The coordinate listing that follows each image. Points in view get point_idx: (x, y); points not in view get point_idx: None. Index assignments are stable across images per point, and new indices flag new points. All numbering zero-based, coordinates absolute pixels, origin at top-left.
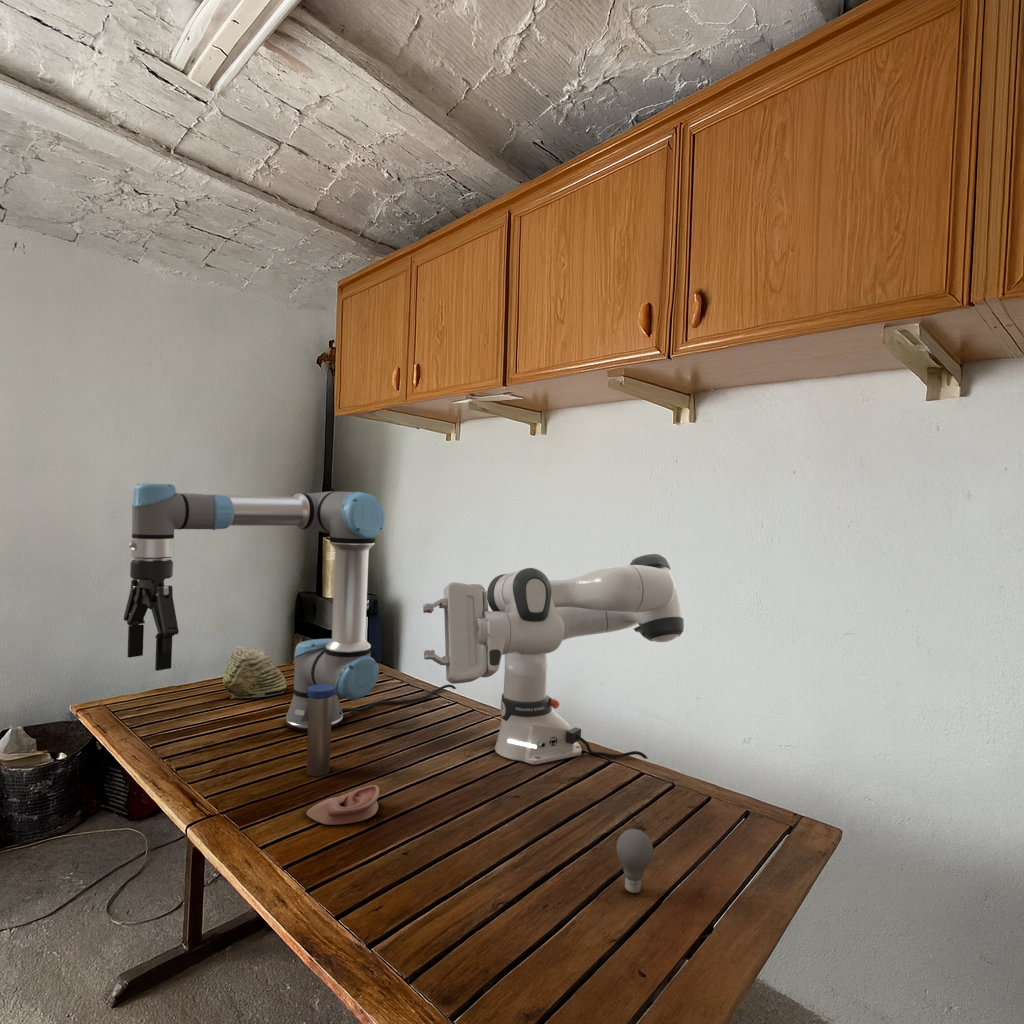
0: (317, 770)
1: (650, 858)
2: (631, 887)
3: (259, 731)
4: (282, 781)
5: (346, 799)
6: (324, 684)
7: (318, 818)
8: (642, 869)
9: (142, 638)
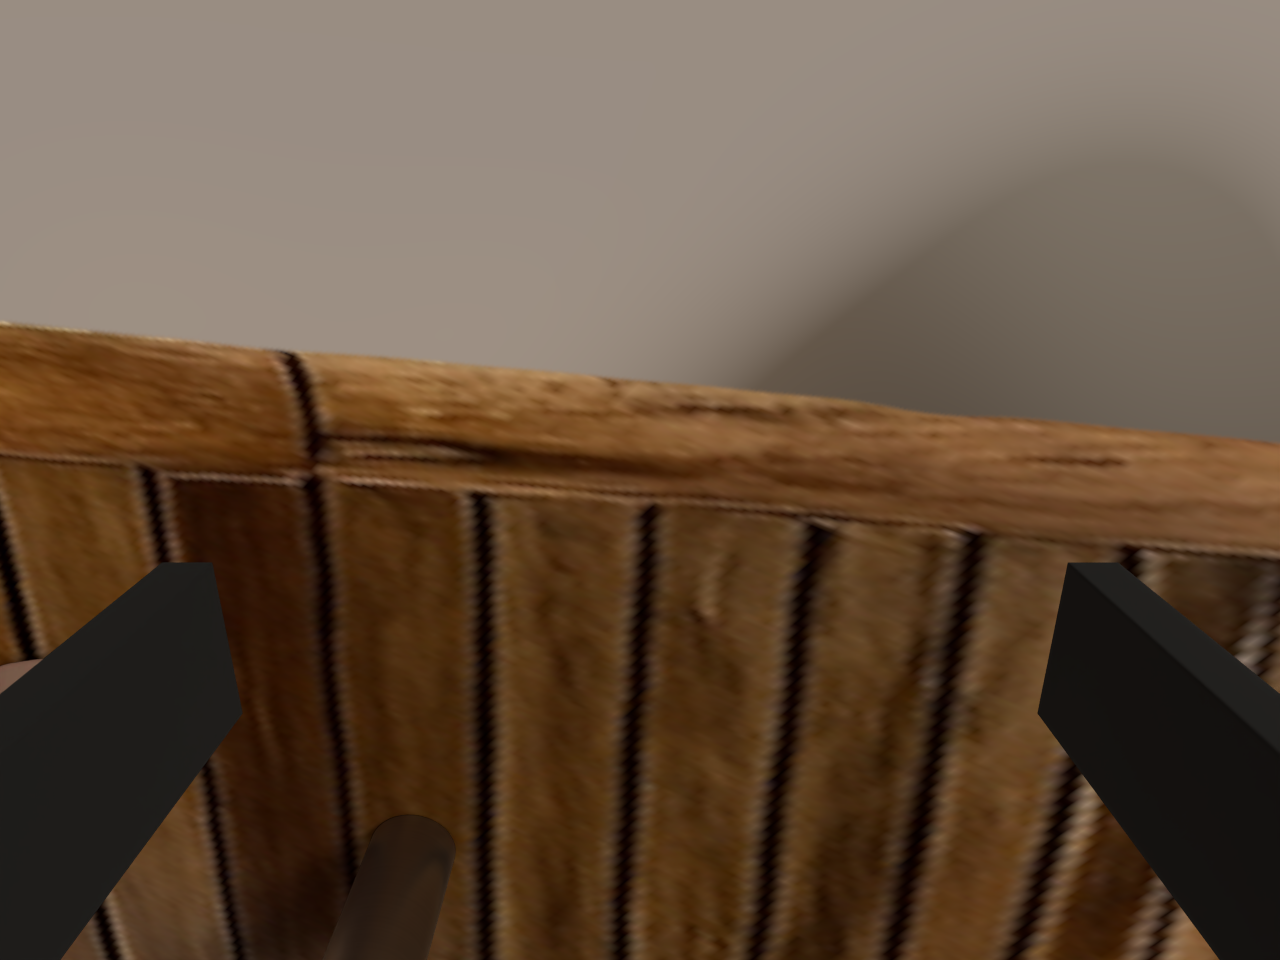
0: (370, 844)
1: None
2: None
3: (923, 891)
4: (419, 735)
5: None
6: None
7: (27, 669)
8: None
9: (1179, 889)
